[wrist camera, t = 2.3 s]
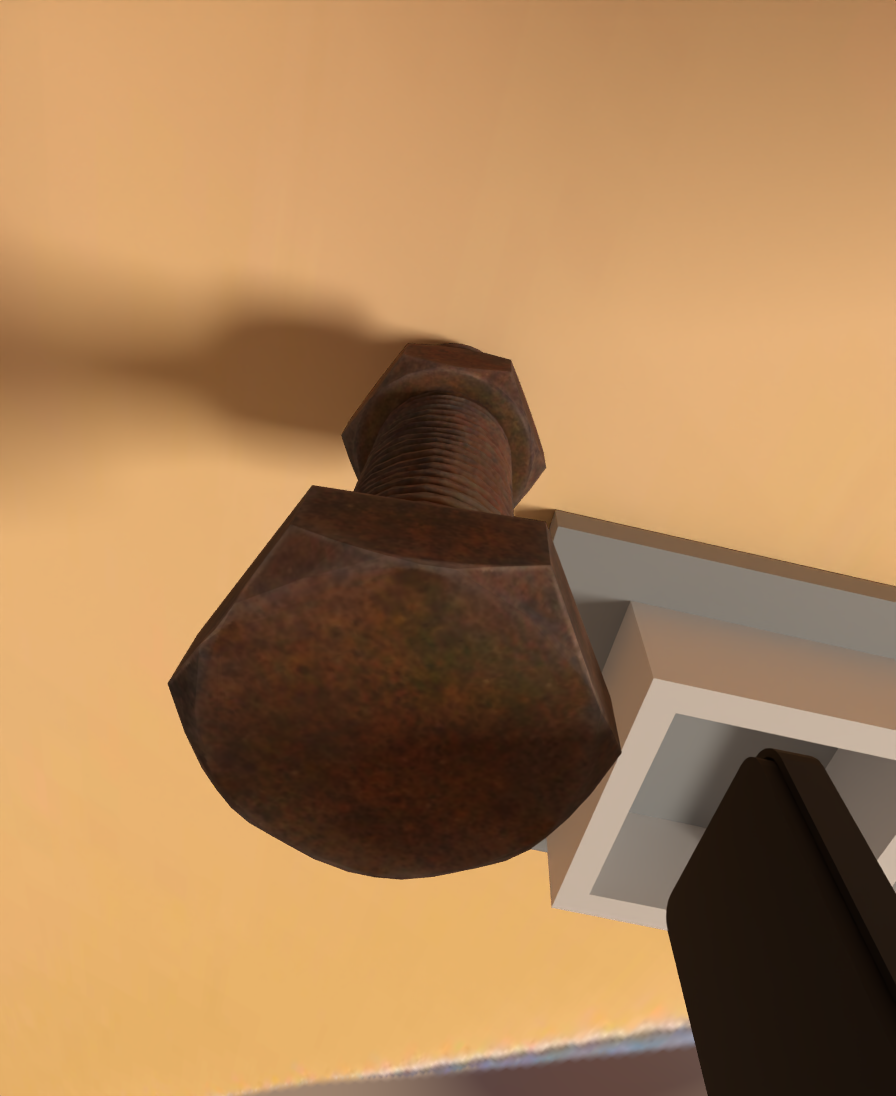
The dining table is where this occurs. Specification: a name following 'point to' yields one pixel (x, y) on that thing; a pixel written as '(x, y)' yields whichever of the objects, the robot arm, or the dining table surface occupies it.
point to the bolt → (407, 645)
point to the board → (716, 701)
